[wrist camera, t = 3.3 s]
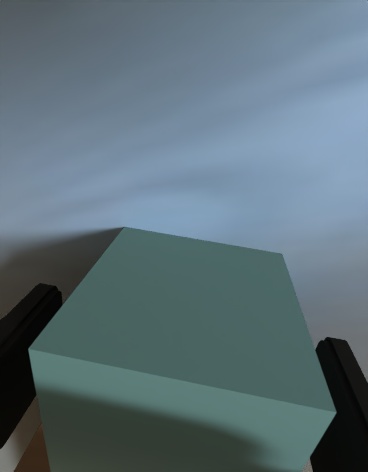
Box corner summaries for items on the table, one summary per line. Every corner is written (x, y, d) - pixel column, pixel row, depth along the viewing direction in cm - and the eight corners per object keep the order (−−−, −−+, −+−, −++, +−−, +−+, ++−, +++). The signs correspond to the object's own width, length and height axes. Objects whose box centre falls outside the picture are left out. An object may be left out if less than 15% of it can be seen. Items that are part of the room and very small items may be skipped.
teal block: (125, 225, 11) (27, 348, 6) (281, 252, 11) (336, 413, 5) (121, 338, 14) (54, 492, 8) (246, 362, 13) (258, 541, 8)
